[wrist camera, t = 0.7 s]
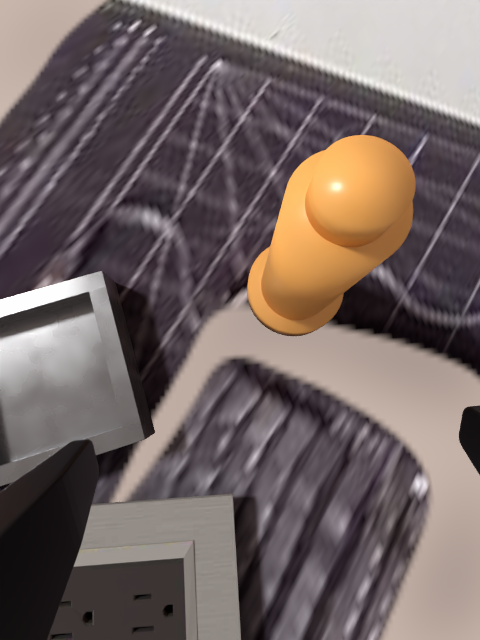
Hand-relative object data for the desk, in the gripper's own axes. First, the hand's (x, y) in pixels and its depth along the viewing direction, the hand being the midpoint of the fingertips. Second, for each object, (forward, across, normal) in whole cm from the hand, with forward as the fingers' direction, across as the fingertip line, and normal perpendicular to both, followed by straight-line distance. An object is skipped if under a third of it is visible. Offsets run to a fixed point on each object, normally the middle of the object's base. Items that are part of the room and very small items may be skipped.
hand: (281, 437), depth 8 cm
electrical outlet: (+8, +8, +16) cm, 19 cm away
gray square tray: (+13, +12, +4) cm, 18 cm away
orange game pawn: (+15, -3, +1) cm, 16 cm away
